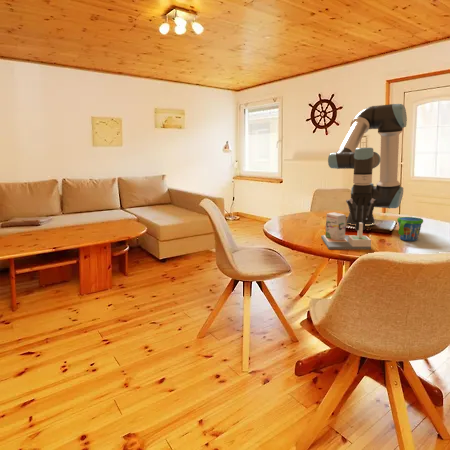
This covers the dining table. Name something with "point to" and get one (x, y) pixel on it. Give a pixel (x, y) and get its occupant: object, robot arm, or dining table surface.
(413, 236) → the snack cup
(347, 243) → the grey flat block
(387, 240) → the dining table surface
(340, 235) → the ink box
